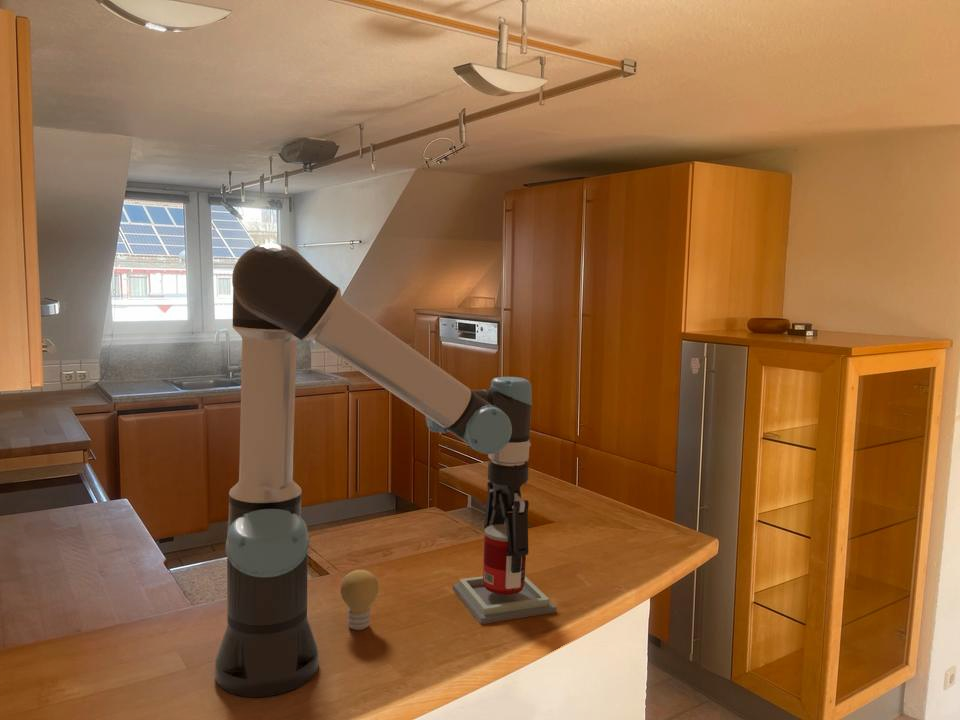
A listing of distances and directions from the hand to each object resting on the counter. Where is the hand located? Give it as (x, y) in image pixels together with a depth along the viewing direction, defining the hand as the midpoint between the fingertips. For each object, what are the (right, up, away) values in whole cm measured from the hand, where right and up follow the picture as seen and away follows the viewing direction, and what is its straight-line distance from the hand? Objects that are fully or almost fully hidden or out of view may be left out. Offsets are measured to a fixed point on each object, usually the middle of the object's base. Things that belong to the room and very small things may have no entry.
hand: (503, 577), depth 136 cm
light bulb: (-25, -5, -12) cm, 28 cm away
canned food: (0, -2, 0) cm, 2 cm away
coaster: (0, -4, +1) cm, 4 cm away
